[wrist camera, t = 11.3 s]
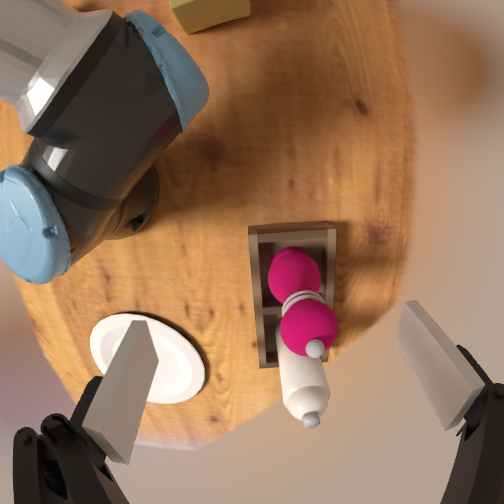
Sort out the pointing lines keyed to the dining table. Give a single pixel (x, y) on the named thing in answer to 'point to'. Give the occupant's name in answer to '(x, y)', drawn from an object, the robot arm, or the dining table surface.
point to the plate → (168, 351)
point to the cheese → (207, 12)
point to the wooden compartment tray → (261, 252)
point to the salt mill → (302, 383)
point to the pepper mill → (301, 303)
